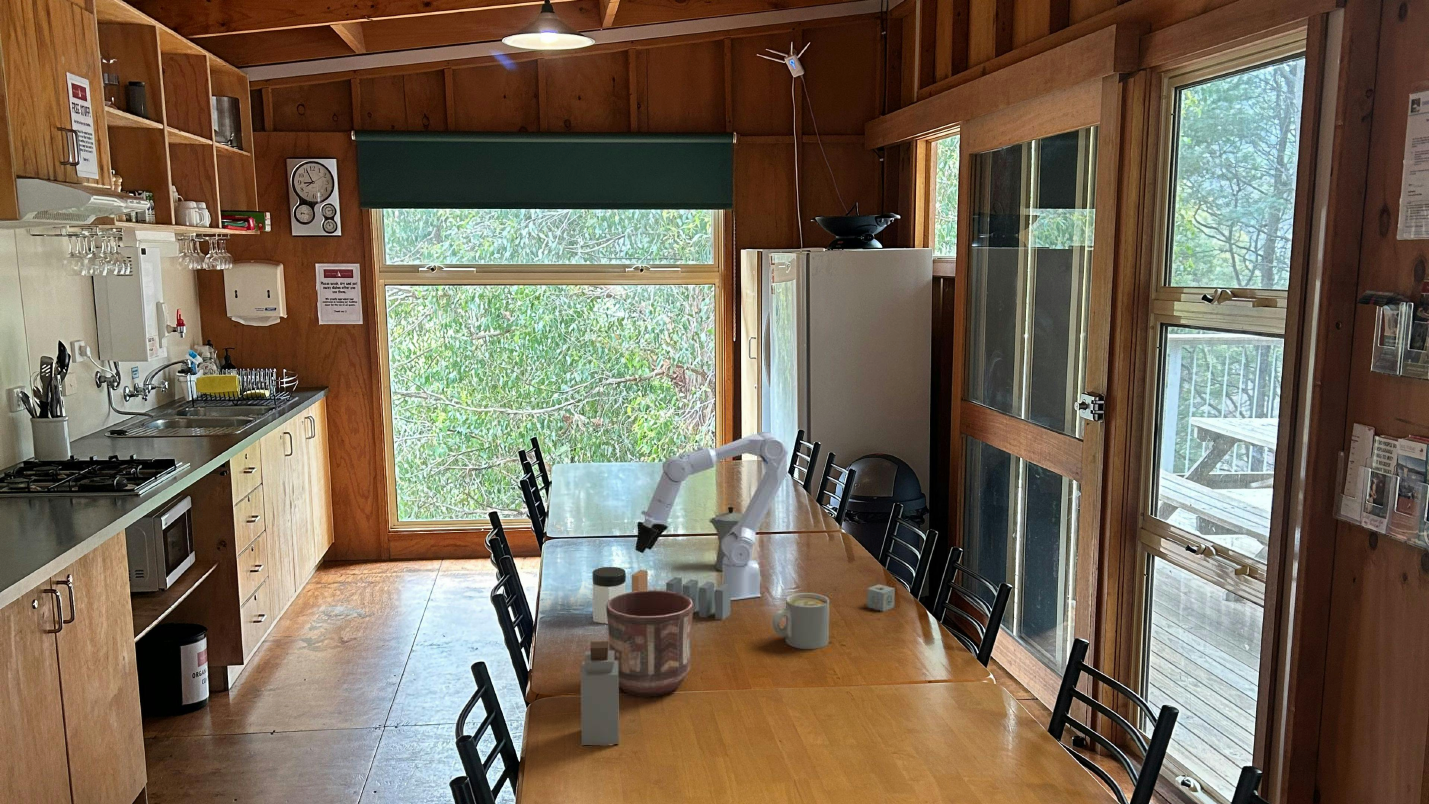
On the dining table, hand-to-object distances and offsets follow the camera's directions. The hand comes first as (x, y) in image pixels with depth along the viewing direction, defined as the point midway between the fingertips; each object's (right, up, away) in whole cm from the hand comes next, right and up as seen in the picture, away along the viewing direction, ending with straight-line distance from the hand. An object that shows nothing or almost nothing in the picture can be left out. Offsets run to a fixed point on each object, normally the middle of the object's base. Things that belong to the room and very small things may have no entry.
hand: (643, 549), depth 267 cm
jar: (-8, -16, -10) cm, 20 cm away
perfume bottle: (-3, -25, -73) cm, 77 cm away
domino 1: (-1, -14, +3) cm, 14 cm away
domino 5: (+20, -15, -9) cm, 27 cm away
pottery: (+5, -21, -50) cm, 55 cm away
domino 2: (+8, -15, -3) cm, 17 cm away
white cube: (+61, -15, -1) cm, 63 cm away
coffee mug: (+38, -18, -25) cm, 49 cm away
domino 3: (+12, -15, -5) cm, 20 cm away
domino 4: (+16, -15, -7) cm, 23 cm away
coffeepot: (+24, -10, +32) cm, 41 cm away
